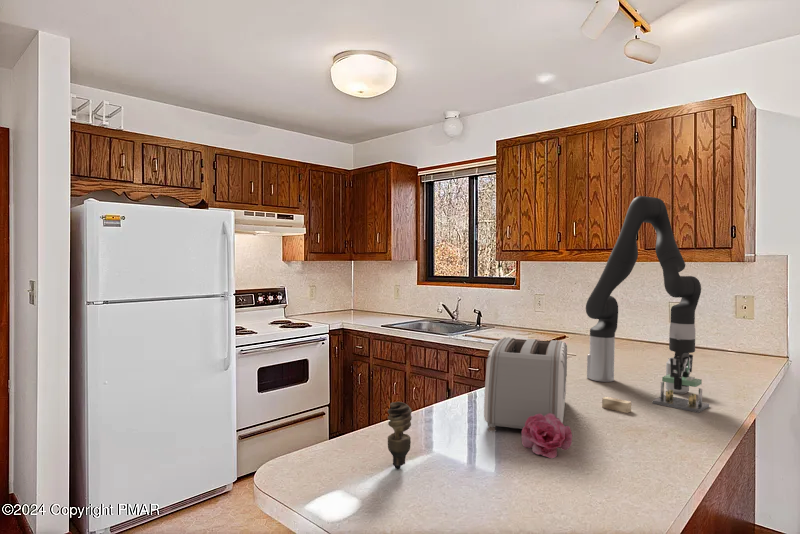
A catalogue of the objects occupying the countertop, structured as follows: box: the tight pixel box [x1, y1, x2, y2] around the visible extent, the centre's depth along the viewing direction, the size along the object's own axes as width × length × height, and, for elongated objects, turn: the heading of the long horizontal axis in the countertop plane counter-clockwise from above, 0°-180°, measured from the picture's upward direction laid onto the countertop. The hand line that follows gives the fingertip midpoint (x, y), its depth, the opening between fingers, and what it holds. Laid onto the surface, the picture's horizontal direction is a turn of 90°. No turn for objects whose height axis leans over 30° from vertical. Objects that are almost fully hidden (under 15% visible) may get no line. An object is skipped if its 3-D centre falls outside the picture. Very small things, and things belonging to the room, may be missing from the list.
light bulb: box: [387, 401, 413, 470], centre depth 118 cm, size 6×6×15 cm
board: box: [661, 374, 703, 388], centre depth 171 cm, size 10×6×2 cm, turn 44°
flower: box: [520, 413, 573, 459], centre depth 129 cm, size 11×10×10 cm
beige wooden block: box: [601, 396, 632, 414], centre depth 166 cm, size 8×3×3 cm, turn 44°
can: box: [665, 357, 690, 395], centre depth 189 cm, size 8×8×12 cm
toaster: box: [483, 336, 568, 433], centre depth 161 cm, size 21×45×22 cm, turn 161°
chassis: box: [652, 381, 710, 414], centre depth 172 cm, size 14×10×6 cm
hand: (681, 387), depth 172 cm, fingers closed on board, 6 cm apart
